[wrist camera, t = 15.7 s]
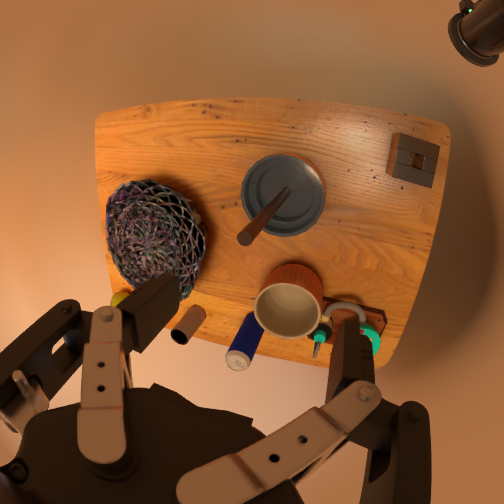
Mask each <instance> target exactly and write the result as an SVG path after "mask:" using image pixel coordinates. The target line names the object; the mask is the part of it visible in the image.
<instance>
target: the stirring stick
mask: <svg viewBox="0 0 504 504" xmlns="http://www.w3.org/2000/svg"><path fill="white" fill-rule="evenodd" d="M290 194H291V189H290V188H288V187H285V188H284V189H283V190H282V191H281V192H280V193H279V194H278V195H277V196H276V197H275V198H274V199H273V200H272V201H271V202H270V203H269V204H268V205H267V206H266V207H265V208H264V209H263V210H262V211H261V212H260V213H259V214H258V215H257V216H256V217H255V218H254V219H253V220H252V221H251V222H250V223H249V224H248V225H247V226H246V227H245V228H244V229H243V230H242V231H241V232H240V233H239V234H238V236H237V239H238V242H239V243H240V244H241V245H243V246H249V245H250V244H251V243H252V242H253V241H254V239H255V238H256V237H257V236H258V234H259V233H260V232H261V230H262V229H263V228H264V227H265V225H266V224H267V223H268V222H269V220H270V219H271V218H272V217H273V215H274V214H275V213H276V212H277V210H278V209H279V208H280V207H281V205H282V204H283V203H284V202H285V200H286V199H287V198H288V196H289V195H290Z"/></svg>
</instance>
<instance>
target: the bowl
mask: <svg viewBox="0 0 504 504" xmlns="http://www.w3.org/2000/svg"><path fill="white" fill-rule="evenodd" d="M285 187H288V188H290V189H291V194H290V195H289V196H288V198H287V199H286V200H285V202H284V203H283V204H282V205H281V207H280V208H279V209H278V210H277V212H276V213H275V214H274V215H273V217H272V218H271V219H270V220H269V222H268V223H267V224H266V225H265V227H264V228H263V229H262V230H263V231H265V232H266V233H268V234H271V235H275V236H280V237H287V236H295V235H298V234H300V233H303V232H305V231H307V230H308V229H309V228H310V227H311V226H313V225H314V224H315V223H316V221H317V220H318V218H319V216H320V215H321V213H322V210H323V205H324V200H325V195H326V191H325V184H324V180H323V177H322V175H321V173H320V171H319V170H318V168H317V167H316V166H315V165H314V164H313V163H312V162H311V161H310V160H308V159H306V158H304V157H302V156H300V155H298V154H292V153H279V154H274V155H270V156H267V157H265V158H263V159H261V160H259V161H257V162H256V163H255V164H254V165H253V166H252V167H251V168H250V169H249V170H248V172H247V174H246V176H245V178H244V180H243V182H242V190H241V198H242V203H243V208H244V210H245V212H246V214H247V215H248V217H249V219H250V220H251V221H252V220H253V219H254V218H255V217H256V216H257V215H258V214H259V213H260V212H261V211H262V210H263V209H264V208H265V207H266V206H267V205H268V204H269V203H270V202H271V201H272V200H273V199H274V198H275V197H276V196H277V195H278V194H279V193H280V192H281V191H282V190H283V189H284V188H285Z"/></svg>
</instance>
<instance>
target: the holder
mask: <svg viewBox="0 0 504 504" xmlns="http://www.w3.org/2000/svg"><path fill="white" fill-rule="evenodd" d="M439 150H440V146H438V145H435V144H432V143H430V142H427V141H424V140H421V139H417V138H414V137H411V136H408V135H405V134H401V133H396V134H393V136H392V142H391V148H390V153H389V160H388V164H387V169H386V173H387V174H389V175H390V176H392V177H394V178H398V179H401V180H405V181H408V182H412V183H415V184H418V185H421V186H425V187H428V188H432V184H433V179H434V174H435V170H436V165H437V160H438V155H439ZM411 153H414V154H415V157H414V163H413V166H410V165H409V162H410V157H411Z"/></svg>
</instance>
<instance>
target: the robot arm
mask: <svg viewBox="0 0 504 504" xmlns="http://www.w3.org/2000/svg"><path fill="white" fill-rule="evenodd" d="M459 6H460V12H462V13H464V14H463V15H462V18H461V19H460V20H459V21H458V23H457V26H456V29H457V34H458V37H459V39H460V41H461V43H462V44H463V45H464V47H465V48H466V49H467V50H468V51H469V52H470V53H471V54H473V55H474V56H476V57H478V58H480V59H490V58H492V57H493V56H495V55H496V56H498V55H499V54H500V53H502V52H504V0H478V1H477V2H476V3H473V2H472V1H471V0H462V1H461V2H460V3H459ZM496 56H495V57H496ZM495 57H493V58H495ZM179 304H180V291H179V277H178V276H176V275H172V274H169V273H165V272H163V273H162V274H161V275H159V276H158V277H157V278H156V279H151V280H148V281H146V282H144V283H142V284H141V285H140V286H139V287H138V288H137V289H135V290H134V291H133V292H132V293H130V294H129V295H128V296H127V297H126V298H124V299H123V300H122V301H121V302H120V303H119V304H117V305H116V306H115V307H114V306H103V307H100V308H98V309H97V310H95V311H94V312H87V311H82V310H81V307H80V304H79V302H78V301H76V300H73V299H67V300H63V301H61V302H59V303H57V304H56V305H55V306H54V307H53V308H51V309H50V310H49V311H48V312H46V314H44V315H43V316H42V317H40V318H39V319H38V320H37V321H36V322H35V323H34V324H32V325H31V326H30V327H29V328H28V329H26V330H25V331H24V332H23V333H22V334H21V335H20V336H18V337H17V338H16V339H15V340H14V341H13V342H12V343H11V344H10V345H8V346H7V347H6V348H5V349H4V350H3V351H2V352H1V353H0V419H1V420H2V421H3V422H4V423H5V424H6V426H7V427H8V428H9V429H10V430H11V431H13V432H15V433H20V434H21V435H22V440H21V444H20V447H19V450H18V452H17V454H16V456H15V458H14V459H13V460H12V461H11V462H10V463H8V464H6V465H4V466H2V467H0V504H304V502H303V500H302V498H301V496H300V495H299V493H298V491H297V489H296V487H295V486H296V485H298V484H299V483H301V482H302V481H303V480H305V479H306V478H307V477H309V476H310V475H311V474H312V473H313V472H314V471H316V470H317V469H318V468H319V467H320V466H321V465H322V464H324V463H325V462H326V461H327V460H328V459H330V458H331V457H332V456H333V455H335V454H336V453H337V452H338V451H339V450H340V449H342V448H343V447H344V446H345V445H346V444H347V443H348V442H350V441H351V442H353V443H356V444H358V445H360V446H362V447H365V448H367V449H368V454H367V462H366V468H365V475H364V482H363V487H362V492H361V498H360V503H359V504H430V501H431V436H430V423H429V422H430V421H429V414H428V411H427V409H426V408H425V407H424V406H423V405H421V404H420V403H418V402H415V401H407V402H405V403H403V404H402V405H401V406H398V405H395V404H393V403H390V402H388V401H386V400H385V399H383V398H382V395H381V392H380V390H379V388H378V387H377V386H376V385H375V374H374V360H373V359H374V358H373V345H372V342H371V340H370V339H369V337H368V335H363V334H360V323H359V322H355V321H350V320H345V319H344V320H343V322H342V324H341V327H340V329H339V332H338V335H337V337H336V340H335V342H334V345H333V348H332V352H331V357H330V367H329V377H328V384H327V392H326V400H325V405H323V406H322V407H320V408H317V407H312V408H311V409H309V410H308V411H306V412H305V413H303V414H302V415H300V416H299V417H297V418H296V419H294V420H292V421H291V422H289V423H288V424H286V425H285V426H283V427H281V428H280V429H278V430H277V431H275V432H273V433H272V434H270V435H268V436H266V435H264V434H263V433H262V432H261V431H259V430H257V429H256V428H255V427H253V426H251V425H252V422H253V418H249V417H246V416H242V415H239V414H236V413H233V412H229V411H225V410H217V409H209V408H202V407H198V406H196V405H194V404H193V403H191V402H190V401H188V400H187V399H185V398H184V397H183V396H181V395H180V394H178V393H177V392H175V391H172V390H170V389H168V388H165V387H163V386H160V385H158V384H156V383H153V385H152V386H151V387H150V389H148V388H133V382H132V371H131V359H130V352H131V351H132V350H134V351H136V352H139V353H142V352H143V351H144V350H145V349H146V347H147V346H148V345H149V344H150V343H151V341H152V340H153V339H154V338H155V337H156V336H157V335H158V333H159V332H160V331H161V330H162V329H163V328H164V327H165V326H166V324H167V323H168V322H169V321H170V320H171V319H172V318H173V316H174V315H175V314H176V313H177V311H178V308H179ZM62 337H63V338H64V341H65V343H64V344H63V345H62V346H61V347H60V348H59V349H58V350H57V351H56V352H55V353H54V354H53V355H52V348H53V346H54V345H55V344H56V343H57V342H58V341H59V340H60V339H61V338H62ZM82 363H83V365H82ZM81 365H82V380H81V402H79V403H75V404H71V405H67V406H63V407H59V408H55V409H50V410H48V408H49V401H50V400H51V399H52V398H53V397H54V396H55V394H56V393H57V392H58V391H59V389H61V387H62V386H63V385H64V384H65V383H66V382H67V380H68V379H69V378H70V377H71V376H72V374H74V372H75V371H76V370H77V369H78V368H79V367H80V366H81Z"/></svg>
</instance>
